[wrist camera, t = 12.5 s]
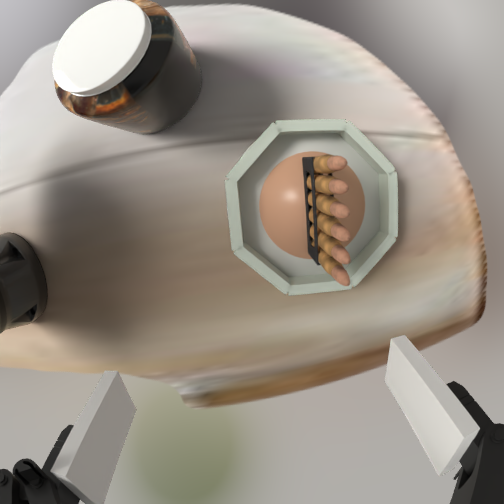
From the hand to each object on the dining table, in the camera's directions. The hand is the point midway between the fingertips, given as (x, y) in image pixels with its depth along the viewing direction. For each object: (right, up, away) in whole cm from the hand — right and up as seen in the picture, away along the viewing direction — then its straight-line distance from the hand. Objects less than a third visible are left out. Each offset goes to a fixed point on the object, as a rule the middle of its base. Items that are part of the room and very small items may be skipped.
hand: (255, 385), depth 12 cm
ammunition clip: (+6, +11, +19) cm, 23 cm away
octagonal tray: (+7, +11, +20) cm, 24 cm away
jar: (-12, +25, +17) cm, 33 cm away
